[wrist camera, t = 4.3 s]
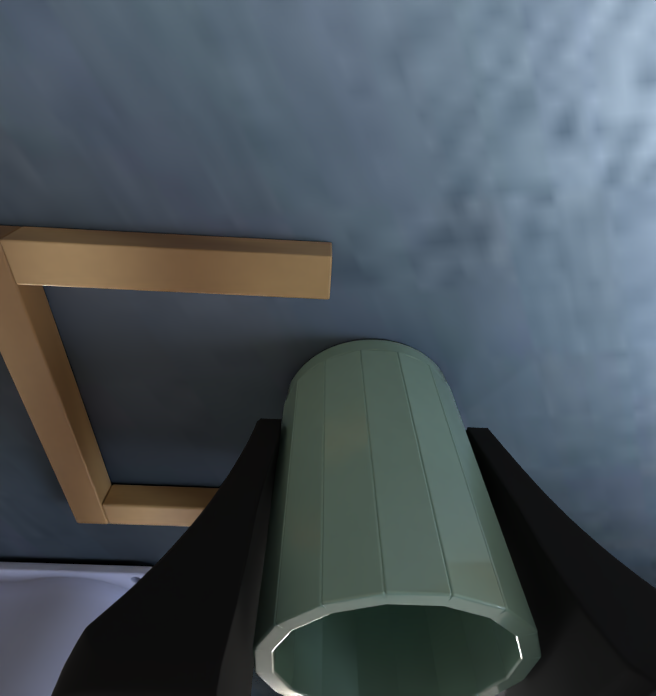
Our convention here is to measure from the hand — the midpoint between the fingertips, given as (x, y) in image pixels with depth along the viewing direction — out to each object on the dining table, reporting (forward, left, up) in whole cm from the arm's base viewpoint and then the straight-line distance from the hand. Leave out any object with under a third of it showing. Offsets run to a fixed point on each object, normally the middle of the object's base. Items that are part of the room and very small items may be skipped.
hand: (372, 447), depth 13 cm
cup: (0, 0, -2) cm, 2 cm away
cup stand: (-6, 0, -2) cm, 6 cm away
